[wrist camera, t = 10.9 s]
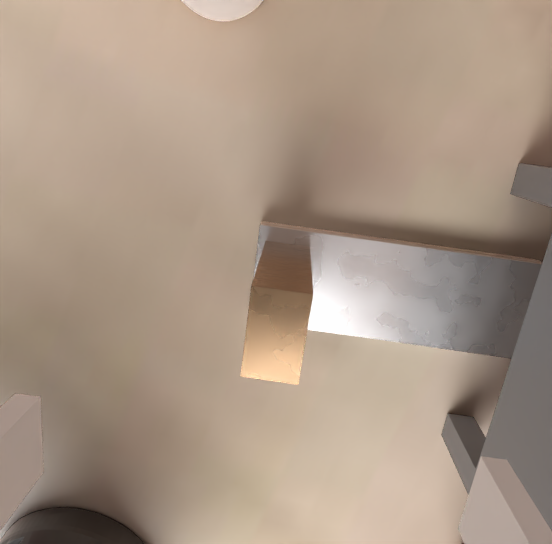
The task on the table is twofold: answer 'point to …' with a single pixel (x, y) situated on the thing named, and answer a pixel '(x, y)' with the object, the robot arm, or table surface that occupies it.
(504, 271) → the steel scraper
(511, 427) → the gray cabinet
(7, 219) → the table surface
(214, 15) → the can
